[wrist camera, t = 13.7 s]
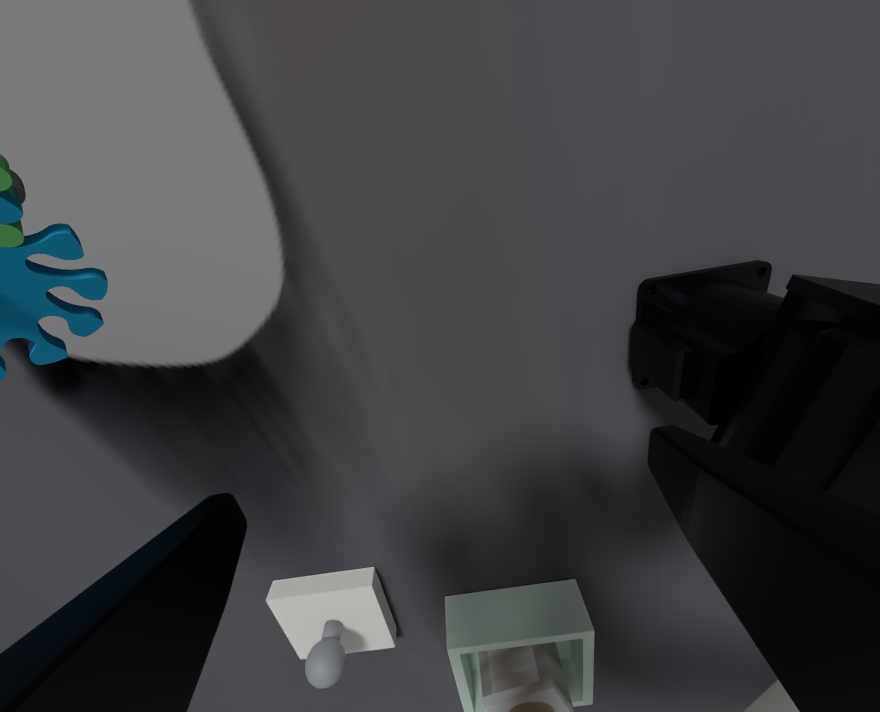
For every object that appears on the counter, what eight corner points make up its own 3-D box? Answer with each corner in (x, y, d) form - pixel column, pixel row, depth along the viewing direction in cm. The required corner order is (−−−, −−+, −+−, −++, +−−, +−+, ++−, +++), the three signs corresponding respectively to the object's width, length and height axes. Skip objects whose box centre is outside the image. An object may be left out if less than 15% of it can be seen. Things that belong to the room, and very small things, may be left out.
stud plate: (374, 566, 29) (363, 646, 24) (396, 627, 32) (391, 708, 27) (273, 580, 29) (241, 662, 24) (305, 639, 32) (284, 720, 27)
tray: (575, 578, 30) (594, 630, 27) (576, 652, 34) (592, 704, 31) (444, 596, 30) (446, 649, 27) (462, 666, 35) (466, 719, 31)
